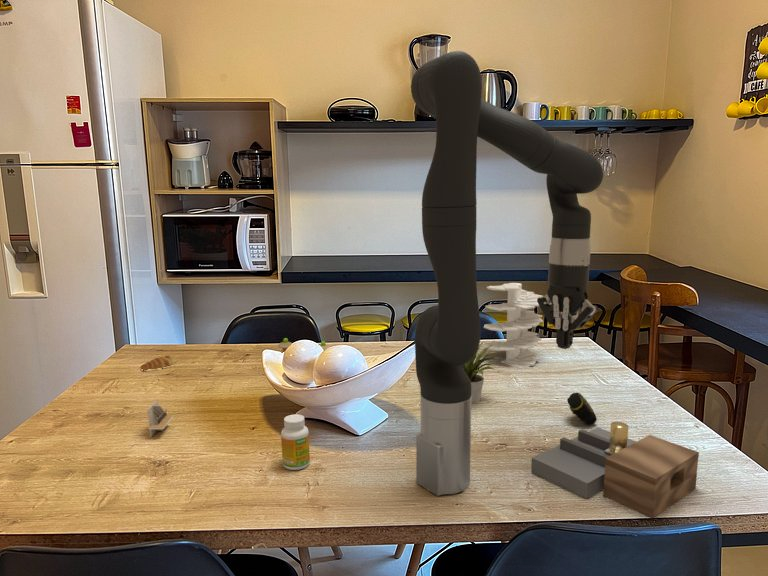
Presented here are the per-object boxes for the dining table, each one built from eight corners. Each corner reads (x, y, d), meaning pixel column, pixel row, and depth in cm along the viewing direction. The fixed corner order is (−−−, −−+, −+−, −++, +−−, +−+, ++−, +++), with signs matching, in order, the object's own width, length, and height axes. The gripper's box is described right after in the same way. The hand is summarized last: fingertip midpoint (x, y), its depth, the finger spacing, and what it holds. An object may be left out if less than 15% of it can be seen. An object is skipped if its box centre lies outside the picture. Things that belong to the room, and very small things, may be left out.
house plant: (470, 418, 132) (471, 352, 129) (428, 402, 142) (428, 340, 140) (507, 403, 141) (509, 340, 139) (465, 389, 152) (466, 330, 149)
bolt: (662, 484, 96) (665, 446, 95) (603, 460, 104) (606, 425, 103) (673, 477, 98) (677, 440, 97) (615, 454, 107) (617, 419, 106)
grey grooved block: (586, 499, 98) (588, 472, 97) (531, 472, 107) (532, 447, 106) (651, 461, 111) (653, 437, 110) (596, 440, 120) (598, 418, 119)
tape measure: (587, 429, 128) (601, 420, 127) (572, 417, 125) (586, 407, 124) (574, 407, 134) (587, 398, 133) (559, 395, 131) (572, 386, 129)
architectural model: (174, 429, 129) (172, 399, 128) (164, 443, 123) (161, 411, 121) (159, 430, 129) (156, 399, 128) (148, 443, 122) (145, 411, 121)
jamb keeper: (652, 518, 92) (655, 478, 91) (603, 494, 99) (605, 458, 98) (695, 488, 101) (699, 452, 100) (647, 468, 108) (649, 435, 107)
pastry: (146, 376, 164) (145, 364, 164) (137, 371, 169) (135, 359, 168) (177, 369, 171) (176, 357, 170) (167, 363, 175) (166, 352, 175)
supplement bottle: (297, 473, 108) (295, 426, 106) (276, 466, 111) (274, 420, 109) (315, 461, 112) (313, 416, 111) (294, 455, 115) (292, 410, 114)
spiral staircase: (538, 355, 181) (541, 279, 177) (545, 373, 164) (548, 289, 159) (481, 353, 184) (482, 278, 180) (482, 370, 167) (483, 288, 162)
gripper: (529, 259, 111) (525, 343, 114) (587, 266, 101) (582, 359, 104) (552, 256, 116) (548, 338, 119) (611, 263, 105) (604, 352, 108)
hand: (564, 347), depth 111 cm, fingers closed
